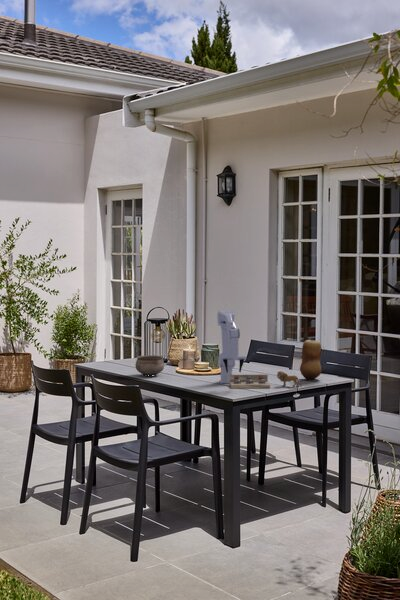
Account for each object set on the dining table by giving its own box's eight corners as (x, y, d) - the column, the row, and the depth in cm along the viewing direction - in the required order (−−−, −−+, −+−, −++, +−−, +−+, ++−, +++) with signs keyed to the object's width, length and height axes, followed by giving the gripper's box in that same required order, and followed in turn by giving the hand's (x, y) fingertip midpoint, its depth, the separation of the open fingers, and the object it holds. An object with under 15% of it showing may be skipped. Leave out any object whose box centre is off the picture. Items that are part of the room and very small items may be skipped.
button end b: (258, 382, 478) (258, 379, 478) (264, 382, 478) (264, 379, 478) (259, 383, 474) (259, 380, 474) (265, 383, 474) (265, 380, 474)
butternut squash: (320, 381, 494) (321, 341, 493) (299, 380, 497) (299, 341, 495) (321, 378, 508) (321, 339, 507) (300, 377, 510) (300, 338, 509)
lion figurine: (276, 386, 475) (276, 371, 474) (277, 385, 480) (277, 370, 479) (301, 387, 472) (301, 372, 472) (301, 386, 477) (301, 371, 477)
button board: (229, 384, 483) (229, 374, 482) (267, 384, 483) (267, 374, 483) (231, 388, 469) (231, 378, 468) (270, 388, 469) (270, 378, 469)
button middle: (246, 382, 478) (246, 379, 477) (252, 382, 478) (252, 379, 478) (247, 383, 474) (247, 380, 474) (253, 383, 474) (253, 380, 474)
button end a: (234, 382, 477) (234, 379, 477) (239, 382, 477) (239, 379, 477) (234, 383, 474) (234, 380, 474) (240, 383, 474) (240, 380, 474)
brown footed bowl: (148, 372, 533) (148, 354, 533) (172, 374, 524) (172, 355, 523) (126, 377, 512) (126, 358, 511) (151, 379, 502) (150, 360, 502)
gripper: (221, 350, 463) (221, 373, 464) (246, 350, 464) (246, 373, 465) (221, 348, 470) (220, 371, 471) (245, 348, 471) (245, 371, 472)
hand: (233, 372), depth 468 cm, fingers open, 7 cm apart
